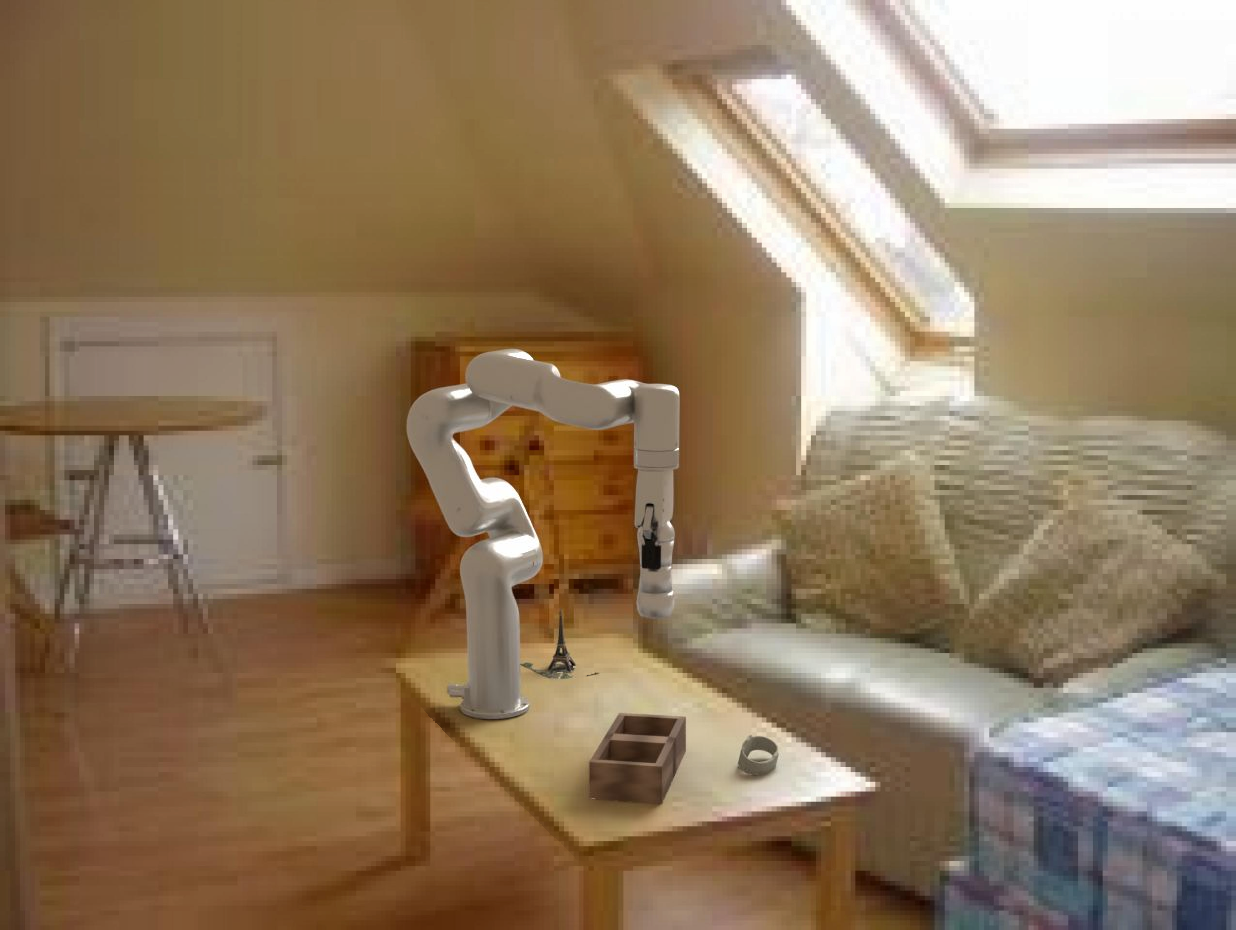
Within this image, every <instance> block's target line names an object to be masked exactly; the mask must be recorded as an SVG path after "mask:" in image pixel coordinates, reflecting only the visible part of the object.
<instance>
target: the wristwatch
mask: <svg viewBox="0 0 1236 930" xmlns="http://www.w3.org/2000/svg"><path fill="white" fill-rule="evenodd" d="M754 751H763V752H766V753H768V754H770V755H771V758H769V759H767V760H764V761H760V762H759V761H755V760H753V759H752V758H751V759H750V758H749V755H750V754H751V752H754ZM779 755H780V754H779V746H778V744H777V743H776V742H775V741H774V740H773V739H771V738H769V737H767V736H763V735H754V736H753V735H751V734H750V735H748V736H747V737H746V738H745V740H744V741H743V743H742V745H741V748H740V754H739V758H738V762H737V765H738V769H740V771H742V772H743V773H745V774H748V775H752V776H757V775H765V774H767V773H769V772H771V771H772V770H773V769H774V768H776V767H777V763H778V759H779Z"/></svg>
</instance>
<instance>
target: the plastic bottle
mask: <svg viewBox="0 0 1236 930" xmlns="http://www.w3.org/2000/svg"><path fill="white" fill-rule="evenodd" d="M670 521H671V520H670ZM670 521H669V520H668V522H667V524H666V525H665V526H664V527H663V528H661V530H660V542H659V545H661V568H660V569H644V568H642V535H643V524H642V526H641V527H640V528H637V532H636V534H637V535H636V537H637V545H638V552H639V564H640V566H639V567H640V569H639V571H640V575H639V583H638V585H639V586H638V591H637V596H636V610H637V612H638V614H639V615H640V616H641V617H642V618H646V619H649V620H650V619H652V620H658V619H659V620H660V619H666V618H669V617H671V615H672V614H673V613H674V609H675V602H676V601H675V595H674V594H675V593H674V591H673V577H672V563H673V562H672V561H673V559H672V558H673V551H674V546H675V545H674V544H675V539H676V538H675V536H676V532H675V528H674V526H673V525H672V523H671V522H670ZM652 527H657V524H652ZM652 532H654V534H655V537H656V531H652Z"/></svg>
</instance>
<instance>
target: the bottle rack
mask: <svg viewBox="0 0 1236 930" xmlns="http://www.w3.org/2000/svg"><path fill="white" fill-rule="evenodd" d="M686 725H687V717H686V716H683V715H681V716H680V715H679V716H678V715H666V714H665V715H663V714H647V713H645V714H644V713H629V712H627V713H626V712H618V713H617V715H616V717H615V718H614V720H613V722H612V724H611V725H610V727H609V729H608V730H607V732H606V734H605V735H604V737H603V739H602V740H601V742H600V744H599V745H598V747H597V748H596V750H595V752H594V754H592V757H591V758H590V759H589V760H588V761H589V762H588V769H589V770H588V773H589V774H588V775H589V776H588V777H589V781H588V782H589V785H588V786H589V791H588V792H589V799H590V798H595V799H594V800H599V799H604V800H603V801H614V800H618V801H617V802H628V801H631V803H642V802H643V803H645V804H656V805H657V804H660V805H662V804H663V803H664V801H663V800H665V799H664V798H666V797H667V793H668V791H669V789H670V787H671V785H672V783H673V781H674V778H675V776H676V774H677V771H678V770H679V767H680V765H681V763H682V761H683V758H684V756H685V753H687V732H686V731H687V726H686ZM671 782H672V783H671Z"/></svg>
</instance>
